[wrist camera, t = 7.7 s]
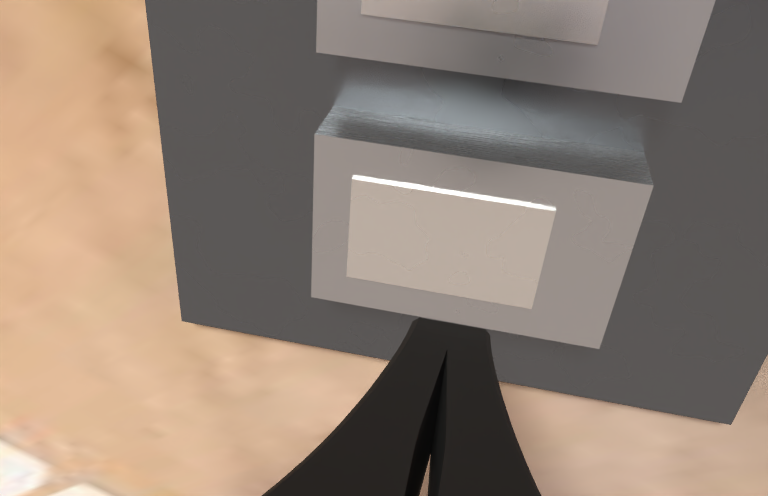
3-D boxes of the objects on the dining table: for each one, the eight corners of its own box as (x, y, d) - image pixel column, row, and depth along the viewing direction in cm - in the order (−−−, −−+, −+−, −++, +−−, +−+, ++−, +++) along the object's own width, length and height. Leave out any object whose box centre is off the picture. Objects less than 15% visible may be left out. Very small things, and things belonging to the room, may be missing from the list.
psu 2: (644, 152, 17) (654, 187, 16) (595, 308, 20) (599, 351, 18) (333, 106, 18) (313, 135, 17) (327, 261, 21) (310, 299, 19)
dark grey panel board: (1268, -680, 10) (1484, -822, 8) (725, 406, 22) (746, 473, 20) (89, -691, 12) (-15, -803, 10) (191, 306, 24) (156, 358, 22)
